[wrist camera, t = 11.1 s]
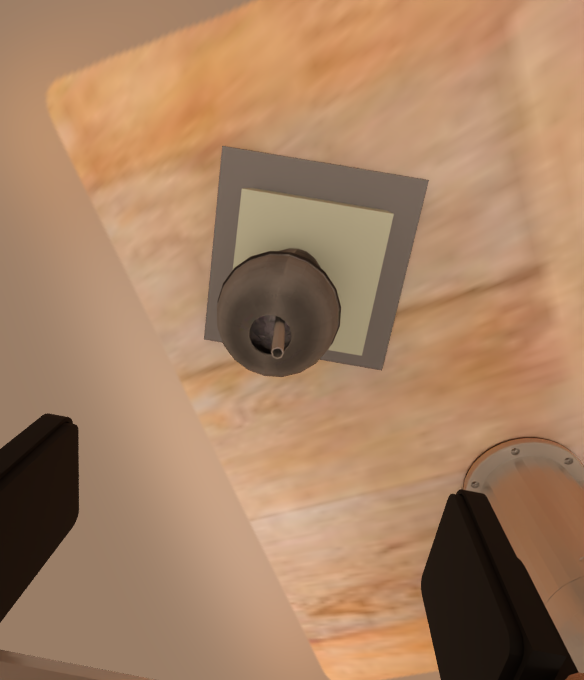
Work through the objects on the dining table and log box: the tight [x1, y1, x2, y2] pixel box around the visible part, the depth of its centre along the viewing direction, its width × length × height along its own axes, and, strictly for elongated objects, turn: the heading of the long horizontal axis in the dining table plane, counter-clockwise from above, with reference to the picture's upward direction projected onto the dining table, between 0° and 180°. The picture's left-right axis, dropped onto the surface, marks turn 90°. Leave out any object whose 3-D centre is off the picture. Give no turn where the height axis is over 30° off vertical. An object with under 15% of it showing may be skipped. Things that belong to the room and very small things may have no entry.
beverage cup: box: [217, 248, 341, 377], centre depth 27 cm, size 7×7×20 cm
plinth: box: [204, 146, 429, 370], centre depth 40 cm, size 18×18×6 cm
